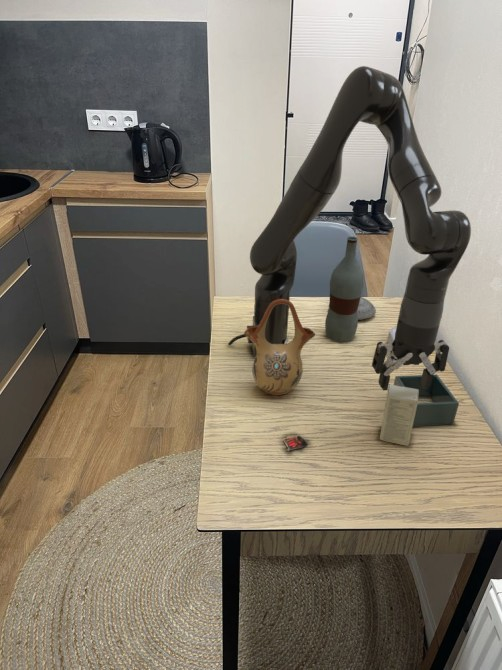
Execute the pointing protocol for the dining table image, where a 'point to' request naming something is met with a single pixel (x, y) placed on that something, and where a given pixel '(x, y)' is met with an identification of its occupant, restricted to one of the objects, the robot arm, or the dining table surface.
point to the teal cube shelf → (431, 412)
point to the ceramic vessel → (278, 355)
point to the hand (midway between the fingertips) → (403, 387)
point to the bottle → (344, 296)
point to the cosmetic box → (399, 414)
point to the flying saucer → (365, 309)
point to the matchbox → (294, 442)
